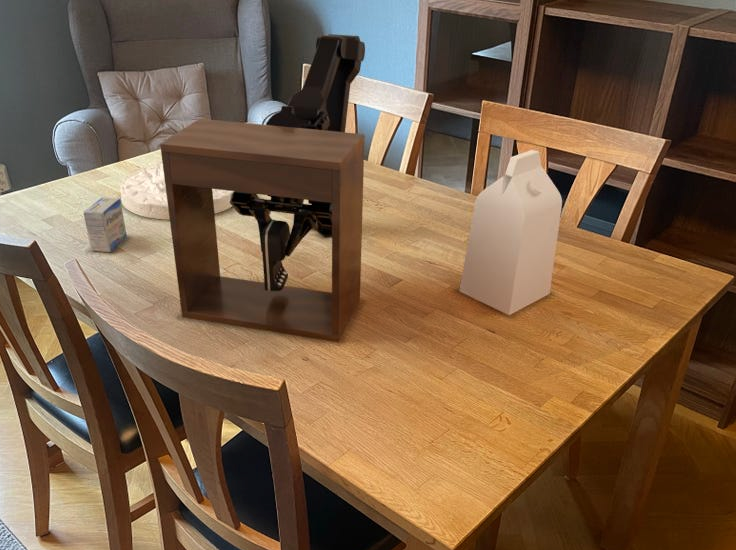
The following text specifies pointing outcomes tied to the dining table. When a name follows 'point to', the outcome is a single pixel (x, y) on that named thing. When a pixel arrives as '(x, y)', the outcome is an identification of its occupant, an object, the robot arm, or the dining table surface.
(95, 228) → the medicine box
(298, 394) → the dining table surface
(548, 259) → the milk
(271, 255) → the black rounded piece
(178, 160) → the brown wooden cubby shelf
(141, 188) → the cake
